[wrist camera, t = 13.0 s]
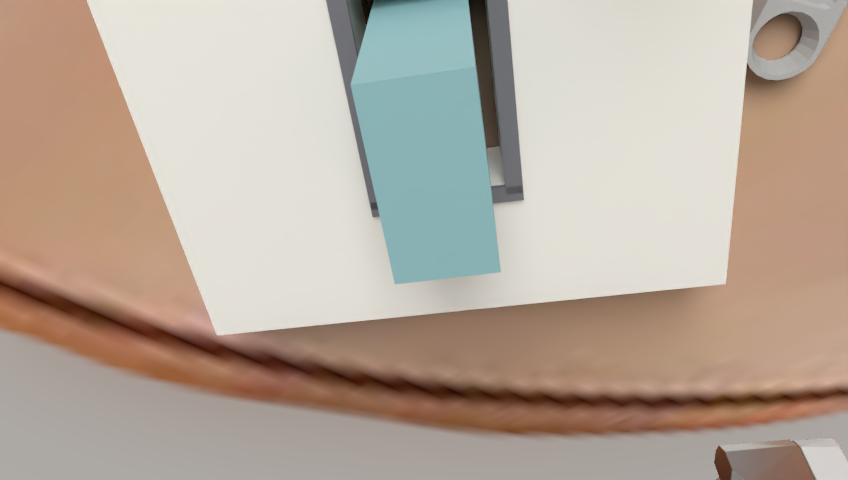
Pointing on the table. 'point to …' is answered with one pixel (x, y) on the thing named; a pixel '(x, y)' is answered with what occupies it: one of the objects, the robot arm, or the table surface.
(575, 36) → the socket plate
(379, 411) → the table surface
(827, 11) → the adjustable wrench
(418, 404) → the table surface
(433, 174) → the flat bar
